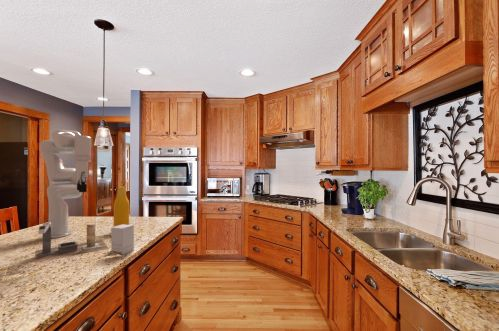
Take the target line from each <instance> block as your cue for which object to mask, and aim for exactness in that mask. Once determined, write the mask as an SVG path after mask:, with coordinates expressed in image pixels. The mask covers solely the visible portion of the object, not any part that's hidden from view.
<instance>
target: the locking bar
mask: <svg viewBox="0 0 499 331" xmlns="http://www.w3.org/2000/svg"><path fill="white" fill-rule="evenodd" d="M49 227H51V222H49V221H48V222H43V223H42V225H40V226H38V235H41V234H42V235H43V233H45V232H46V231H47V229H48V228H49Z"/></svg>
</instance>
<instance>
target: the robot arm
mask: <svg viewBox="0 0 499 331" xmlns="http://www.w3.org/2000/svg"><path fill="white" fill-rule="evenodd" d="M51 138H52V139H44V140H42V141H41V142H40V145H39V148H40V155H41V156H42V158H43V160H44V163H45V166H46V167H45V168H46V174H47V178H48V182H50V183H53V184H51V185H49V186H47V189H46V195H47V200H48V222H51V239H56V238H62V237H68V236H70V235H71V234H72V231H70V230H69V204H68V203H67V202H66V201H65V200H66V199H67V200H68V199H77V198H80V197H81V196H82V194H83V193H86V192H87V188H88V186H87V180H88V177H89V162H90V163H91V162H92V160H91V159H92V158H91V157H92V137H91V136H88V135H81V133H80V132H79V131H76V130H72V129H63V128H62V129H59V128H58V129H55V130H54V131H52V132H51ZM57 154H61V155H63V154H65V155H66V154H68V155H70V154H71V155H73V162H75V167H64V161H63V160H62V158H61V157H60V156H58V155H57Z"/></svg>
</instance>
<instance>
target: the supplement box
mask: <svg viewBox="0 0 499 331" xmlns="http://www.w3.org/2000/svg"><path fill="white" fill-rule="evenodd" d="M134 227H135V226H134V225H132V224H129V225H124V224H122V225H119V226H115V227H114V226H112V227H110V230H111V233H110V240H111V242H110V243H111V250H110V251H112V252H115V253H116V252H117V253H116V254H117V255H125V254H127V253H130V252H133V251H134V250H135V249H134V248H135V246H134V245H135V236H134V235H135V232H134V231H135V230H134V229H135V228H134Z"/></svg>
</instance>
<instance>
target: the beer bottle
mask: <svg viewBox="0 0 499 331" xmlns="http://www.w3.org/2000/svg"><path fill="white" fill-rule="evenodd" d="M122 224H124V225H130V200H129V199H128V196H127V190H126V186H118V187H117V192H116V198H115V200H114V201H113V227H115V226H119V225H122Z"/></svg>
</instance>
